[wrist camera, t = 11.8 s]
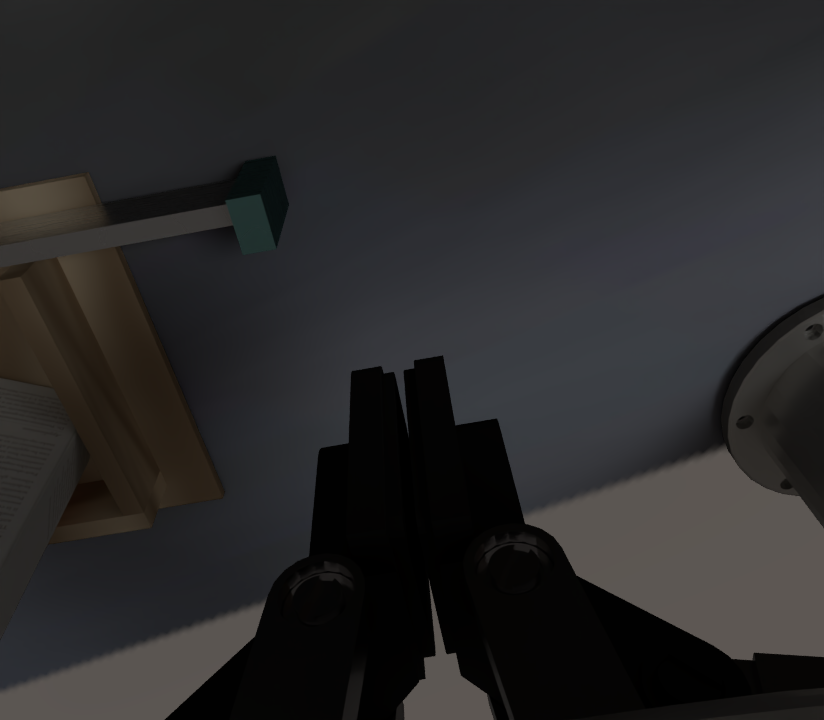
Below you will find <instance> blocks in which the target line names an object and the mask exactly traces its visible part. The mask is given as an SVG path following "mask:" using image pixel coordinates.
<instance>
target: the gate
mask: <svg viewBox="0 0 824 720" xmlns="http://www.w3.org/2000/svg"><path fill="white" fill-rule="evenodd" d="M288 206H289V203H288V199H287V195H286V192H285V188H284V184H283V181H282V177H281V173H280V170H279V166H278V163H277V159H276V156H271V157H265V158H260V159H255V160H249V161H245V163H244V165H243V167H242V169H241V171H240V173H239V175H238V177H237V179H232V180H227V181H221V182H216V183H211V184H205V185H200V186H194V187H189V188H184V189H178V190H173V191H167V192H162V193H157V194H151V195H146V196H140V197H135V198H130V199H124V200H119V201H113V202H108V203H103V204H97V205H92V206H86V207H81V208H76V209H70V210H65V211H59V212H54V213H49V214H43V215H38V216H32V217H27V218H22V219H16V220H11V221H5V222H0V268H1V267H7V266H12V265H18V264H23V263H29V262H34V261H40V260H45V259H51V258H56V257H62V256H67V255H73V254H78V253H84V252H89V251H95V250H100V249H106V248H111V247H117V246H122V245H128V244H133V243H138V242H144V241H149V240H155V239H160V238H166V237H171V236H177V235H182V234H188V233H193V232H199V231H204V230H210V229H215V228H221V227H226V226H232V225H233V226H234V229H235V232H236V235H237V238H238V242H239V245H240V248H241V251H242V254H243V255H246V254H251V253H257V252H263V251H268V250H274V249H277V245H278V242H279V238H280V235H281V231H282V228H283V224H284V221H285V217H286V214H287V210H288Z"/></svg>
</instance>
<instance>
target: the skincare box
mask: <svg viewBox="0 0 824 720" xmlns="http://www.w3.org/2000/svg"><path fill="white" fill-rule="evenodd" d="M89 458H90V454H89V452H88V451H87V449H86V447H85V445H84V443H83V441H82V440H81V438H80V436H79V434H78V432H77V430H76V429H75V427H74V425H73V423H72V421H71V419H70V418H69V416H68V414H67V412H66V410H65V408H64V407H63V405H62V403H61V401H60V399H59V398H58V396H57V394H56V392H55V390H54V388H49V387H44V386H39V385H34V384H29V383H24V382H19V381H14V380H9V379H4V378H0V640H1V638H2V636H3V634H4V632H5V630H6V628H7V626H8V624H9V622H10V620H11V618H12V616H13V614H14V612H15V610H16V608H17V606H18V604H19V601H20V599H21V597H22V595H23V593H24V591H25V589H26V587H27V585H28V583H29V581H30V579H31V577H32V575H33V573H34V571H35V569H36V567H37V565H38V563H39V561H40V559H41V557H42V555H43V553H44V551H45V549H46V547H47V545H48V543H49V541H50V539H51V537H52V535H53V533H54V531H55V529H56V527H57V525H58V523H59V521H60V518H61V516H62V514H63V512H64V510H65V508H66V506H67V504H68V502H69V500H70V498H71V496H72V494H73V492H74V490H75V488H76V486H77V484H78V482H79V480H80V478H81V476H82V474H83V472H84V470H85V468H86V466H87V464H88V462H89Z"/></svg>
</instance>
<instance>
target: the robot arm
mask: <svg viewBox="0 0 824 720" xmlns="http://www.w3.org/2000/svg"><path fill="white" fill-rule="evenodd" d="M404 382H405V395H406V407H407V419H408V431H409V436H408V432H407V427H406V423H405V418H404V414H403V409H402V405H401V400H400V395H399V391H398V386H397V382H396V377H395V374H394V372H391V373H385V374H384V373H383V370H382V367H381V366H379V367H374V368H368V369H362V370H356V371H352V372H351V392H350V421H349V443H348V444H342V445H336V446H330V447H324V448H321V449H320V450H319V455H318V464H317V475H316V486H315V497H314V509H313V520H312V531H311V542H310V553H309V557H307V558H305V559H302V560H300V561H297V562H296V563H294V564H293V565H292V566H290V567H289V568H287V569H286V570H284V572H283V573H282V574H281V575H280V576H279V577H278V578H277V580H276V581H275V582H274V584H273V586H272V588H271V590H270V592H269V594H268V597H267V600H266V603H265V607H264V610H263V613H262V616H261V619H260V623H259V626H258V629H257V632H256V635H255V637H254V638H253V639H252V640H251V641H250V642H248V643H247V644H246V645H245V646H244V647H243V648H242V649H241V650H240V651H239V652H238V653H237V654H235V655H234V656H233V657H232V658H231V659H230V660H229V661H228V662H227V663H226V664H225V665H224V666H222V668H220V669H219V670H218V671H217V672H216V673H215V674H214V675H213V676H212V677H210V678H209V679H208V680H207V681H206V682H205V683H204V684H203V685H202V686H201V687H200V688H199V689H197V690H196V691H195V692H194V693H193V694H192V695H191V696H190V697H189V698H188V699H187V700H186V701H185V702H183V703H182V704H181V705H180V706H179V707H178V708H177V709H176V710H175V711H174V712H172V713H171V714H170V715H169V716H168V717H167V718H166V719H165V720H404V704H403V700H404V699H405V698H406V697H407V695H408V694H409V693H410V692H411V691H412V689H413V688H414V687H415V686H416V685H417V684H418V683H419V680H422V679H425V667H424V658H425V657H431V656H435V641H434V631H433V619H432V609H431V599H430V588H429V581H430V586H431V590H432V594H433V599H434V603H435V607H436V611H437V616H438V620H439V624H440V629H441V633H442V637H443V642H444V645H445V650H446V653H447V654H451V653H456V655H457V659H458V664H459V669H460V673H461V676H463V677H464V678H465V679H467V680H468V681H470V682H471V683H473V684H474V685H476V686H477V687H478V688H480V689H481V690H483V691H484V692H485V693H487V696H488V701H489V706H490V709H491V712H492V715H493V718H494V720H824V657H813V656H797V655H781V654H765V653H754V654H753V660H737V659H731V658H730V657H729V656H728V655H726V654H725V653H723V652H722V651H720V650H719V649H717V648H716V647H714V646H713V645H711V644H709V643H707V642H705V641H703V640H701V639H699V638H697V637H695V636H693V635H691V634H689V633H688V632H685V631H684V630H682V629H680V628H678V627H676V626H674V625H672V624H670V623H668V622H666V621H664V620H662V619H660V618H658V617H656V616H654V615H652V614H650V613H648V612H647V611H644V610H642V609H640V608H639V607H637V606H635V605H633V604H631V603H629V602H627V601H625V600H623V599H621V598H619V597H617V596H615V595H613V594H611V593H609V592H607V591H605V590H604V589H601V588H600V587H598V586H596V585H594V584H592V583H589V582H588V581H586V580H584V579H582V578H580V577H578V576H576V574H575V572H574V570H573V568H572V566H571V564H570V562H569V561H568V559H567V557H566V555H565V553H564V551H563V549H562V547H561V546H560V545H559V543H558V542H557V541H556V540H555V538H554V537H553V536H551V535H550V534H548V533H547V532H545V531H544V530H542V529H540V528H537V527H534V526H531V525H528V524H525V522H524V518H523V514H522V510H521V506H520V503H519V499H518V495H517V491H516V487H515V484H514V480H513V476H512V472H511V468H510V464H509V461H508V457H507V453H506V449H505V445H504V442H503V438H502V434H501V430H500V426H499V423H498V420H497V419H491V420H485V421H479V422H473V423H467V424H461V425H455V421H454V416H453V410H452V404H451V399H450V393H449V387H448V381H447V376H446V370H445V364H444V359H443V356H437V357H432V358H426V359H420V360H414V369H408V370H404ZM721 425H722V435H723V438H724V441H725V443H726V446H727V449H728V451H729V453H730V454H731V456H732V457H733V458H734V460H735V462H736V463H737V465H738V466H739V468H740V469H741V470H742V471H743V472H744V473H745V474H746V475H747V476H748V477H749V478H750V479H751V480H753V481H755V482H757V483H758V484H760V485H761V486H763V487H765V488H767V489H770V490H773V491H775V492H778V493H782V494H788V495H795V496H800V497H801V498H802V500H803V501H804V502H805V504H806V505H807V506H808V508H809V509H810V510H811V512H812V513H813V514H814V516H815V517H816V518H817V520H818V521H819V522H820V524H821V525H822V526H823V528H824V298H822V299H820V300H818V301H816V302H814V303H812V304H810V305H808V306H806V307H804V308H802V309H800V310H799V311H797V312H796V313H794V314H793V315H791V316H790V317H788V318H787V319H785V320H784V321H782V322H781V323H780V324H778V325H777V326H776V327H775V328H774V329H773V330H772V331H770V332H769V333H768V334H767V335H766V336H765V337H764V338H763V339H761V340H760V341H759V342H758V344H757V345H756V346H755V347H754V348H753V349H752V351H751V352H750V353H749V354H748V355H747V357H746V358H745V359H744V360H743V362H742V363H741V365H740V367H739V368H738V370H737V371H736V373H735V375H734V376H733V378H732V380H731V382H730V385H729V387H728V390H727V393H726V395H725V398H724V402H723V408H722V415H721Z"/></svg>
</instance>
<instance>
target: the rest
mask: <svg viewBox="0 0 824 720" xmlns="http://www.w3.org/2000/svg"><path fill="white" fill-rule="evenodd" d="M97 204H102V203H101V200H100V198H99V196H98V193H97V191H96V189H95V186H94V184H93V182H92V179H91V177H90V175H89V172H87V173H81V174H76V175H71V176H65V177H60V178H55V179H49V180H44V181H39V182H33V183H28V184H23V185H17V186H12V187H7V188H1V189H0V222H5V221H11V220H16V219H22V218H27V217H32V216H38V215H43V214H49V213H54V212H59V211H65V210H70V209H76V208H81V207H86V206H92V205H97ZM0 378H4V379H9V380H14V381H19V382H24V383H29V384H34V385H39V386H44V387H49V388H54V390H55V392H56V394H57V396H58V398H59V399H60V401H61V403H62V405H63V407H64V408H65V410H66V412H67V414H68V416H69V418H70V419H71V421H72V423H73V425H74V427H75V429H76V430H77V432H78V434H79V436H80V438H81V440H82V441H83V443H84V445H85V447H86V449H87V451H88V452H89V454H90V458H89V462H88V464H87V466H86V468H85V470H84V472H83V474H82V476H81V478H80V480H79V482H78V484H77V486H76V488H75V490H74V492H73V494H72V496H71V498H70V500H69V502H68V504H67V506H66V508H65V510H64V512H63V514H62V516H61V518H60V521H59V523H58V525H57V527H56V529H55V531H54V533H53V535H52V537H51V539H50V541H49V543H48V544H55V543H61V542H67V541H73V540H79V539H85V538H92V537H98V536H104V535H110V534H116V533H122V532H129V531H135V530H141V529H147V528H152V525H153V523H154V520H155V517H156V514H157V511H158V509H161V508H167V507H173V506H179V505H185V504H191V503H197V502H203V501H209V500H216V499H222V498H223V496H224V493H225V491H224V489H223V486H222V484H221V482H220V479H219V477H218V475H217V472H216V470H215V468H214V465H213V463H212V461H211V458H210V456H209V454H208V451H207V449H206V447H205V444H204V442H203V440H202V437H201V435H200V433H199V430H198V428H197V426H196V423H195V421H194V418H193V416H192V414H191V411H190V409H189V407H188V404H187V402H186V400H185V397H184V395H183V393H182V390H181V388H180V386H179V383H178V381H177V379H176V376H175V374H174V372H173V369H172V367H171V365H170V362H169V360H168V357H167V355H166V353H165V350H164V348H163V346H162V343H161V341H160V339H159V336H158V334H157V332H156V329H155V327H154V325H153V322H152V320H151V318H150V315H149V313H148V311H147V308H146V306H145V304H144V301H143V299H142V297H141V294H140V292H139V289H138V287H137V285H136V282H135V280H134V278H133V275H132V273H131V271H130V268H129V266H128V264H127V261H126V259H125V257H124V254H123V252H122V250H121V247H120V246H117V247H111V248H106V249H100V250H95V251H89V252H84V253H78V254H73V255H67V256H62V257H56V258H51V259H45V260H40V261H34V262H29V263H23V264H18V265H12V266H7V267H1V268H0Z"/></svg>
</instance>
